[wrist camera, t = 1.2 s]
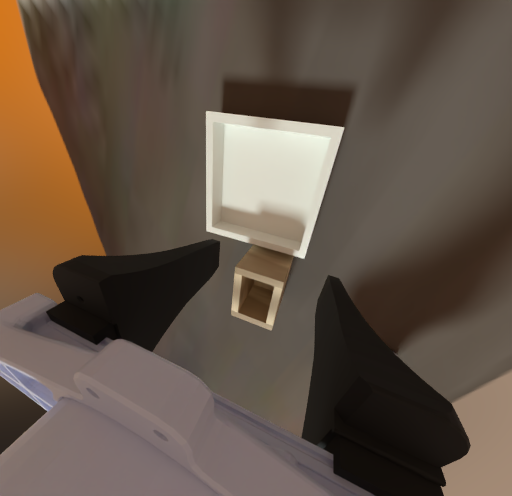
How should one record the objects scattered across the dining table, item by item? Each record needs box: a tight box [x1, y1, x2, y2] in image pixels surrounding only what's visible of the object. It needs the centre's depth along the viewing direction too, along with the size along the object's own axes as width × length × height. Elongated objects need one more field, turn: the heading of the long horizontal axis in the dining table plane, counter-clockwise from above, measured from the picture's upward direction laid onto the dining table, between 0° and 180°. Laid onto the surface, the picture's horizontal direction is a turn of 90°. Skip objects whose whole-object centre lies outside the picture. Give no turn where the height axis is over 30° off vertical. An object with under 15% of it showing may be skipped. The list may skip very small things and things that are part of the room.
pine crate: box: [231, 245, 293, 331], centre depth 22 cm, size 7×5×6 cm
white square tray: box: [206, 111, 344, 259], centre depth 19 cm, size 11×11×3 cm
